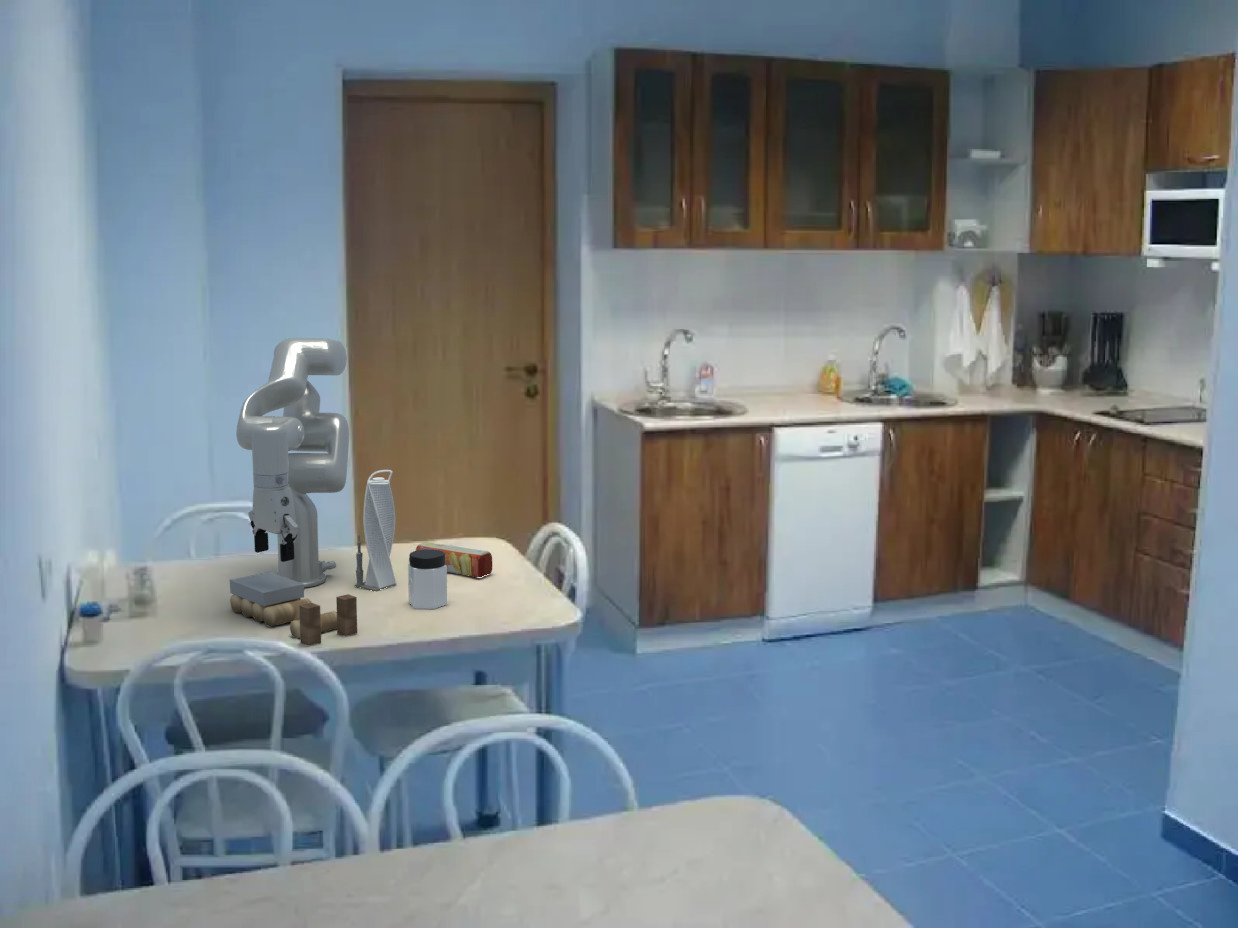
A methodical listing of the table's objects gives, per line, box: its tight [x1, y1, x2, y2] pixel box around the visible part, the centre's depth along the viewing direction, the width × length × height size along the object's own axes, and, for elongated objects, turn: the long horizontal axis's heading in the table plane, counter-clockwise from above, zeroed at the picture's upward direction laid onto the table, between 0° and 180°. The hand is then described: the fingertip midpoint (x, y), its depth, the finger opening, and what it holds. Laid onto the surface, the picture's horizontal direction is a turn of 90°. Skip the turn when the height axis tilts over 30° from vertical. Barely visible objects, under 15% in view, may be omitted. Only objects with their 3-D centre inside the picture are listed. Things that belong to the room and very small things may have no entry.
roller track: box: [229, 594, 313, 628], centre depth 280 cm, size 10×18×4 cm, turn 47°
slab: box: [229, 571, 305, 606], centre depth 281 cm, size 10×14×3 cm
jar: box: [407, 549, 448, 610], centre depth 290 cm, size 9×8×12 cm
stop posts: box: [299, 593, 358, 647], centre depth 265 cm, size 12×3×8 cm, turn 137°
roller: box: [289, 610, 337, 639], centre depth 269 cm, size 10×4×4 cm
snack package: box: [415, 541, 493, 578], centre depth 319 cm, size 21×7×7 cm, turn 57°
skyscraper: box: [354, 469, 397, 592], centre depth 302 cm, size 8×8×28 cm
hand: (274, 555), depth 278 cm, fingers open, 9 cm apart
